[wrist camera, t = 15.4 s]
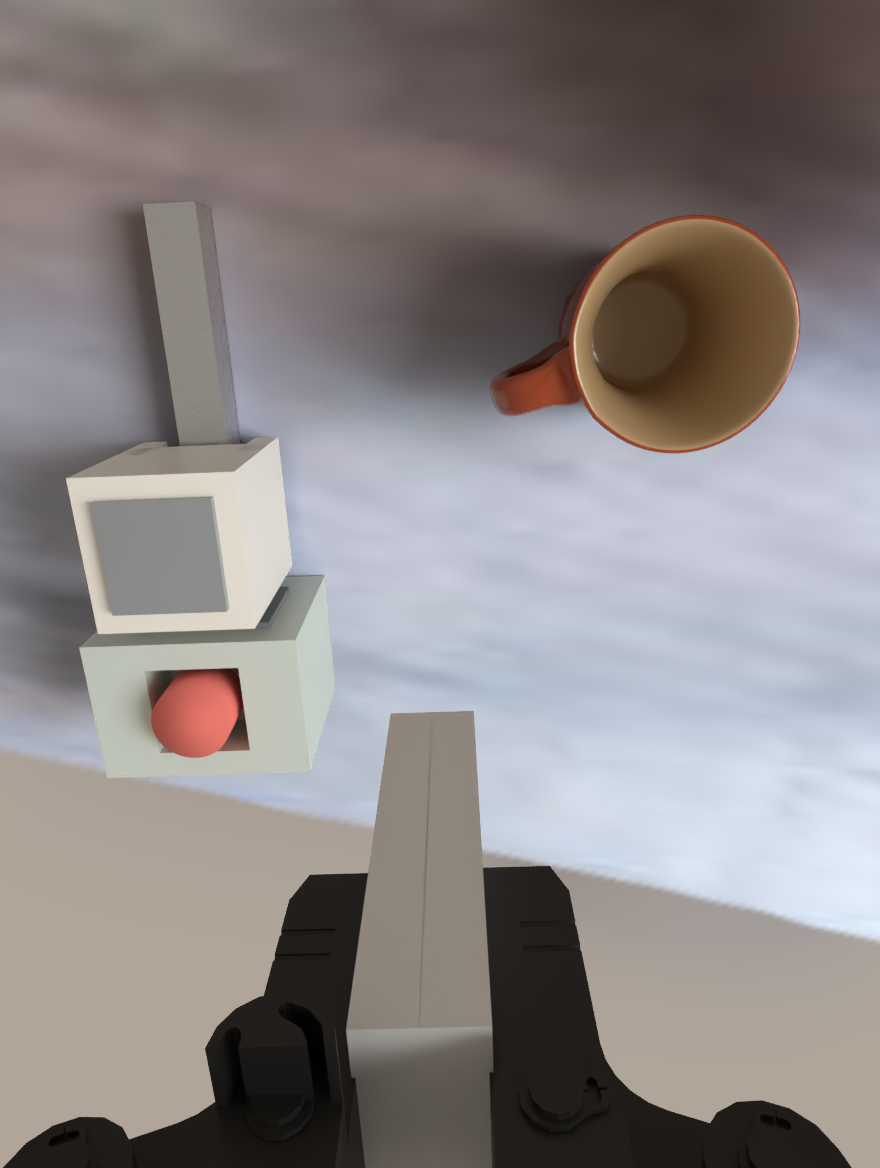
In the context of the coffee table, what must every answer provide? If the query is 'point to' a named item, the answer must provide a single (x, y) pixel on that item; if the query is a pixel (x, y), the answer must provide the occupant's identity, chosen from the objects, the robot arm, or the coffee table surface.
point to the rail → (192, 322)
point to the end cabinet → (258, 656)
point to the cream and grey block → (183, 536)
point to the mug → (669, 338)
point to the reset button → (198, 711)
